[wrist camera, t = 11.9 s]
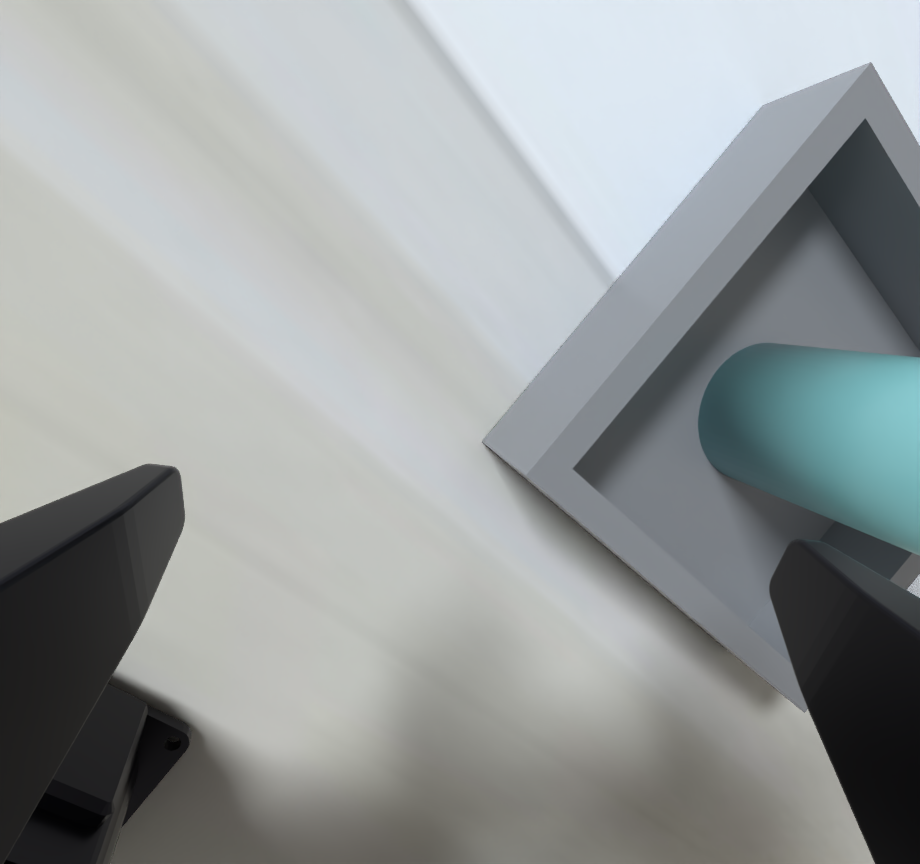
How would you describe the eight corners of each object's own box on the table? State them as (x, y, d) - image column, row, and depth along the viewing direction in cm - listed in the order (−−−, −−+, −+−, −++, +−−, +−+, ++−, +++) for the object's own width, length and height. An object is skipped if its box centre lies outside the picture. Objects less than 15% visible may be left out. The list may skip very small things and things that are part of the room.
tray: (728, 650, 25) (804, 712, 22) (481, 441, 20) (525, 475, 16) (950, 382, 25) (1065, 397, 22) (763, 105, 20) (871, 62, 16)
